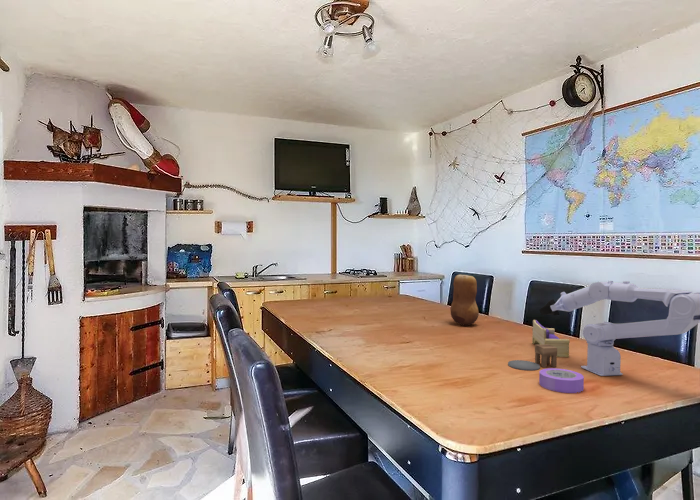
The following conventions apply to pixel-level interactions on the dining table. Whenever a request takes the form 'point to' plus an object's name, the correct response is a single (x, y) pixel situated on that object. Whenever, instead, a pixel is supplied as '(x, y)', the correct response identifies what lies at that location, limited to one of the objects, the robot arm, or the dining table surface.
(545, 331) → the toy sofa
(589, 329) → the robot arm
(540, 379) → the masking tape
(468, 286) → the butternut squash
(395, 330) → the dining table surface
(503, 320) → the dining table surface
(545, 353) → the wooden toy stool
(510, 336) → the dining table surface
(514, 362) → the mat
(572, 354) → the dining table surface
